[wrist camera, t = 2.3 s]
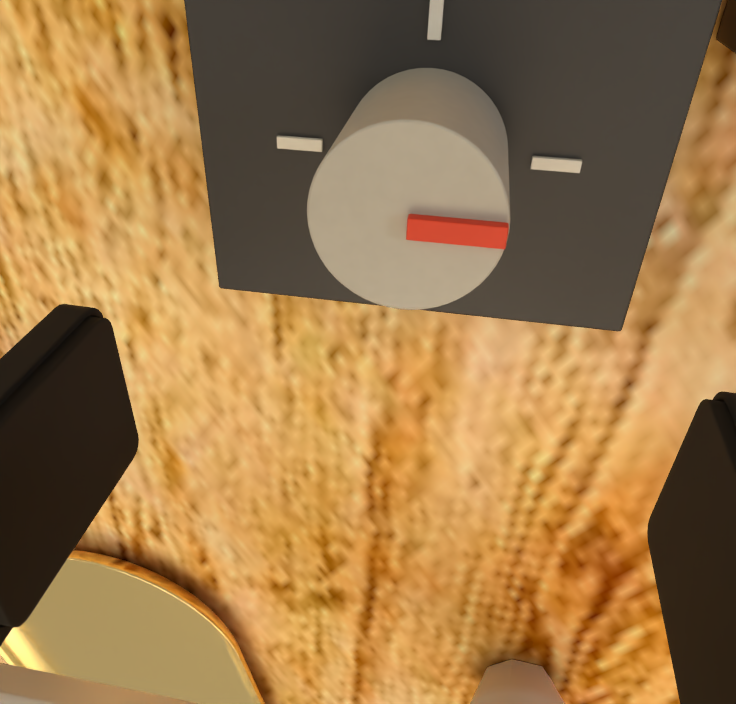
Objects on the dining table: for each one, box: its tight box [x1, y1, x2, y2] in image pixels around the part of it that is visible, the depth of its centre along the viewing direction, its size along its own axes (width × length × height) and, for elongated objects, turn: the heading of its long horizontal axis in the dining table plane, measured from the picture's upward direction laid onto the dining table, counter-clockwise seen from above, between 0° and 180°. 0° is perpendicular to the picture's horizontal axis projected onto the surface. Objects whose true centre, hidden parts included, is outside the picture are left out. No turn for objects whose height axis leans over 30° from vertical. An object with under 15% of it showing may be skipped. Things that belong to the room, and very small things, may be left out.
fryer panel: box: [184, 0, 722, 331], centre depth 21 cm, size 14×11×3 cm
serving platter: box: [0, 550, 265, 704], centre depth 48 cm, size 19×35×2 cm, turn 8°
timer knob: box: [307, 68, 510, 310], centre depth 17 cm, size 5×5×5 cm
